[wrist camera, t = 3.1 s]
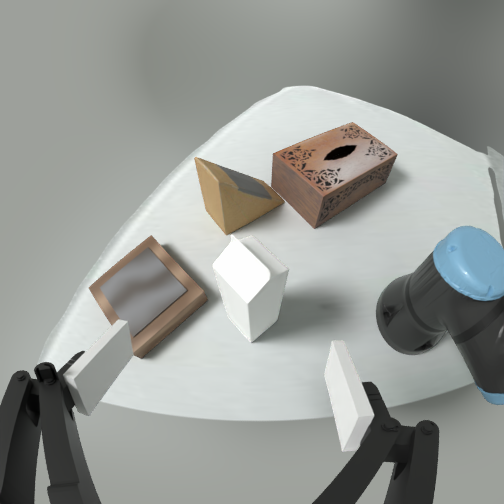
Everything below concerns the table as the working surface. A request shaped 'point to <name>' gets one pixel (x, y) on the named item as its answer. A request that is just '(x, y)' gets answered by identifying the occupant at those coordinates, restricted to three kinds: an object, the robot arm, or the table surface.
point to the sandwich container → (234, 196)
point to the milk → (250, 285)
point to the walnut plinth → (147, 295)
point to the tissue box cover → (331, 171)
